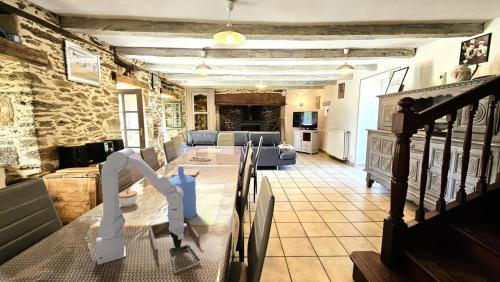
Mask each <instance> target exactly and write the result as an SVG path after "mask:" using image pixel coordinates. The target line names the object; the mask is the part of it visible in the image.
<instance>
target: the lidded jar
mask: <svg viewBox="0 0 500 282" xmlns="http://www.w3.org/2000/svg"><path fill="white" fill-rule="evenodd" d="M137 200H138V192H137V190H125V191H122V192H119V205H120V206H122V207H123V208H129V207H133V206H134V204H135V203H136V202H137Z"/></svg>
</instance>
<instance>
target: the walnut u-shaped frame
mask: <svg viewBox="0 0 500 282" xmlns="http://www.w3.org/2000/svg"><path fill="white" fill-rule="evenodd" d="M184 223H186V224H187V226H186V227H185V229H186V230H187V232H188V234H189V235H190V237H191V238H192V240H193V241H194V243H195V245H196V247H201V243H200V237H201V236H200V235H199V233H198V232H197V231H196V229H195V227H194V225H192V223H191V221H190V219H188V218H187V217H184ZM169 231H170V230H169V220H167V221H161V222H159V223H154V224H151V225H148V238H149V240H150V244H151V248H152V252H153V255H154V260H156V261H157V260H159V250H158V249H159V248H158V244H157V241H156V238H155V235H157V234H160V233H165V232H169Z"/></svg>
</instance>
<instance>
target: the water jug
mask: <svg viewBox="0 0 500 282" xmlns="http://www.w3.org/2000/svg"><path fill="white" fill-rule="evenodd" d="M184 168H185V167H184V166H178V167H177V175H174V176H172V177H171V178H169V179H168V180H169V181H171V182H172V183H173V184H174V185H177V186H179V187H181V188H182V189H183V192H184V194H183V197H182V199H183V217H187V218H188V220H191V219H192V218H194V217H195V216H196V215H197V192H196V186H197V185H196V183H197V182H196V178H195V177H194V176H191V175H188V174H185V172H184V171H185V170H184ZM167 218H168V219H169V203H168V204H167Z"/></svg>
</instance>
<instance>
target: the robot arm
mask: <svg viewBox="0 0 500 282" xmlns="http://www.w3.org/2000/svg"><path fill="white" fill-rule="evenodd" d="M124 167H125V169H126V170H137V172H139V173H141V175H143V176H144V177H146V178H147V179H148V180H149V181H151V183H152V187H153V188H154V189H156V190H157V191H158V192H159V193H160V194H162V195H163V196H164V197H165V198H166V202H167V203H168V204H169V218H168V221H169V231H168V233H169V235H170V237H171V239H172V242H173V246H174V248H179V247H181V246H182V242H183V239H184V238H185V237H184V235H186V231H185V228H186V226H187V224H186V223H184V217H183V199H182V197H183V194H184V192H183V189H182V188H181V187H179V186H177V185H174V184H173V183H172V182H171V181H169V179H170V178H169V177H168V176H167V175H166V176H165V175H163V174H158V173H157V172H156V170H154V169H153V168H152V167H151V166H150V165H149V164H148V163H147V162H146V161H145V160H144V159H142V157H141V156H140V154H138V153H137V152H135V151H134V150H133V149H131V148H128V147H127V148H123V149H121V150H118V151H115V152H112V153H111V154H109V155H108V156H106V161H105V162H104V164H103V165H102V167H101V169H100V173H101V191H102V206H103V207H102V208H103V214H102V217H101V219H100V221H99V227H98V230H97V235H98V236H99V237H96V238H95V239H96V240H95V245H96V246H95V248H96V249H95V250H96V253H95V254H96V260H97V265H103V264H106V263H109V262H111V261H112V262H113V261H115V260H119V259H123V258H126V257H127V256H126V255H127V252H126V246H125V242H124V239H125V238H124V229H123V228H124V225H125V223H126V219H125V217H124V215H123V211H122V210H121V209H120V203H119V193H120V192H119V175H118V173H119V172H120V171H121V170H122V169H123V168H124Z"/></svg>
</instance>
